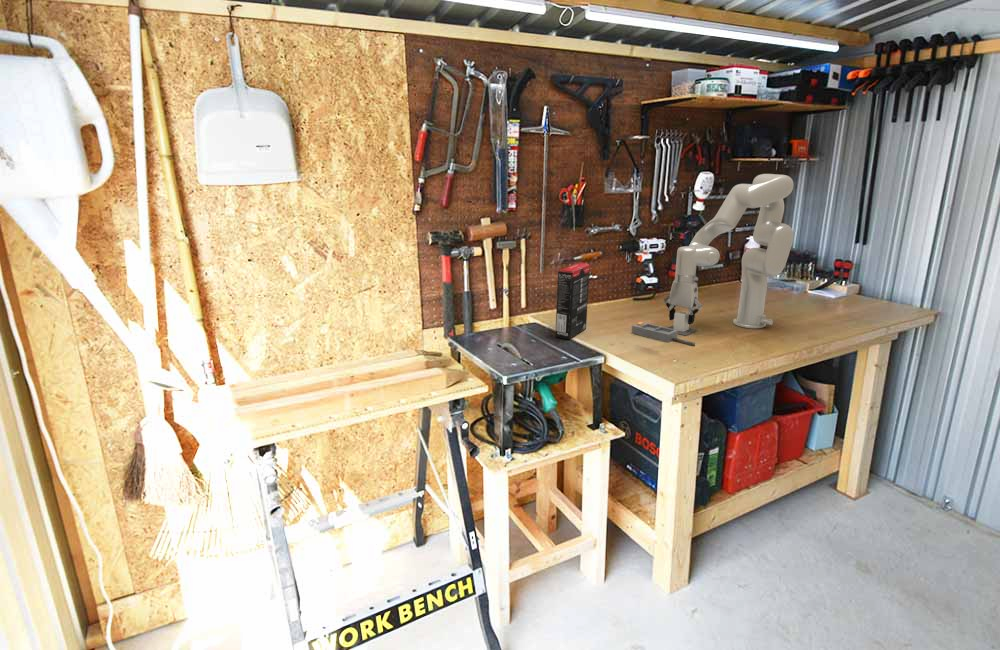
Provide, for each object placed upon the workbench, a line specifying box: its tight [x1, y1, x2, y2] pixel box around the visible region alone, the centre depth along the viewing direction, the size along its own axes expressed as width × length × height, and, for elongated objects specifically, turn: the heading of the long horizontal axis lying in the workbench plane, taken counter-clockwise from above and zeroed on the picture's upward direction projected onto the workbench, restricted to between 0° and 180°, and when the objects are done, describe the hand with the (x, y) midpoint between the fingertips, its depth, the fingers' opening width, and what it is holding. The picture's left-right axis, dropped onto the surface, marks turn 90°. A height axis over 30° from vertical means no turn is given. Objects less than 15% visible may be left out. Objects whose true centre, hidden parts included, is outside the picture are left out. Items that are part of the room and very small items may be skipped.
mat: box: [667, 324, 699, 337], centre depth 219 cm, size 10×10×1 cm
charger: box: [672, 310, 690, 332], centre depth 218 cm, size 4×4×7 cm
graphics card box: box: [555, 262, 591, 340], centre depth 214 cm, size 17×7×27 cm, turn 149°
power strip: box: [631, 321, 696, 347], centre depth 210 cm, size 25×7×4 cm, turn 43°
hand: (681, 321), depth 218 cm, fingers open, 7 cm apart
